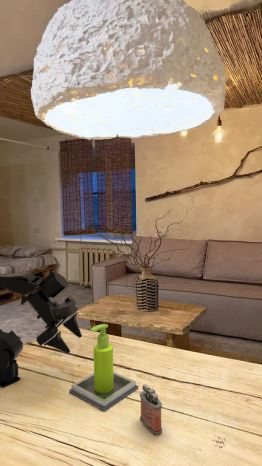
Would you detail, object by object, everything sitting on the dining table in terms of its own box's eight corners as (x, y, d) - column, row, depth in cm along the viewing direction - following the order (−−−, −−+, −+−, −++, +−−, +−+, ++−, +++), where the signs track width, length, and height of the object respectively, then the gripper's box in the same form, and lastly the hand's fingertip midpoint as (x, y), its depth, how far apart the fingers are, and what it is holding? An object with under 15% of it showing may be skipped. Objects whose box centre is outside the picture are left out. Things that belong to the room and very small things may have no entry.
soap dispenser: (87, 388, 105) (86, 325, 103) (105, 380, 110) (104, 320, 108) (99, 396, 101) (98, 331, 99) (117, 387, 106) (116, 325, 104)
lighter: (165, 432, 87) (165, 395, 86) (153, 437, 85) (153, 399, 84) (148, 415, 94) (147, 380, 93) (137, 419, 92) (136, 383, 91)
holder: (104, 411, 95) (104, 404, 95) (69, 392, 105) (69, 385, 105) (138, 388, 107) (138, 381, 107) (103, 373, 116) (103, 366, 116)
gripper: (46, 305, 97) (81, 348, 97) (73, 281, 114) (102, 318, 115) (21, 325, 101) (55, 366, 101) (51, 299, 118) (80, 334, 118)
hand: (75, 344), depth 109 cm, fingers open, 9 cm apart
